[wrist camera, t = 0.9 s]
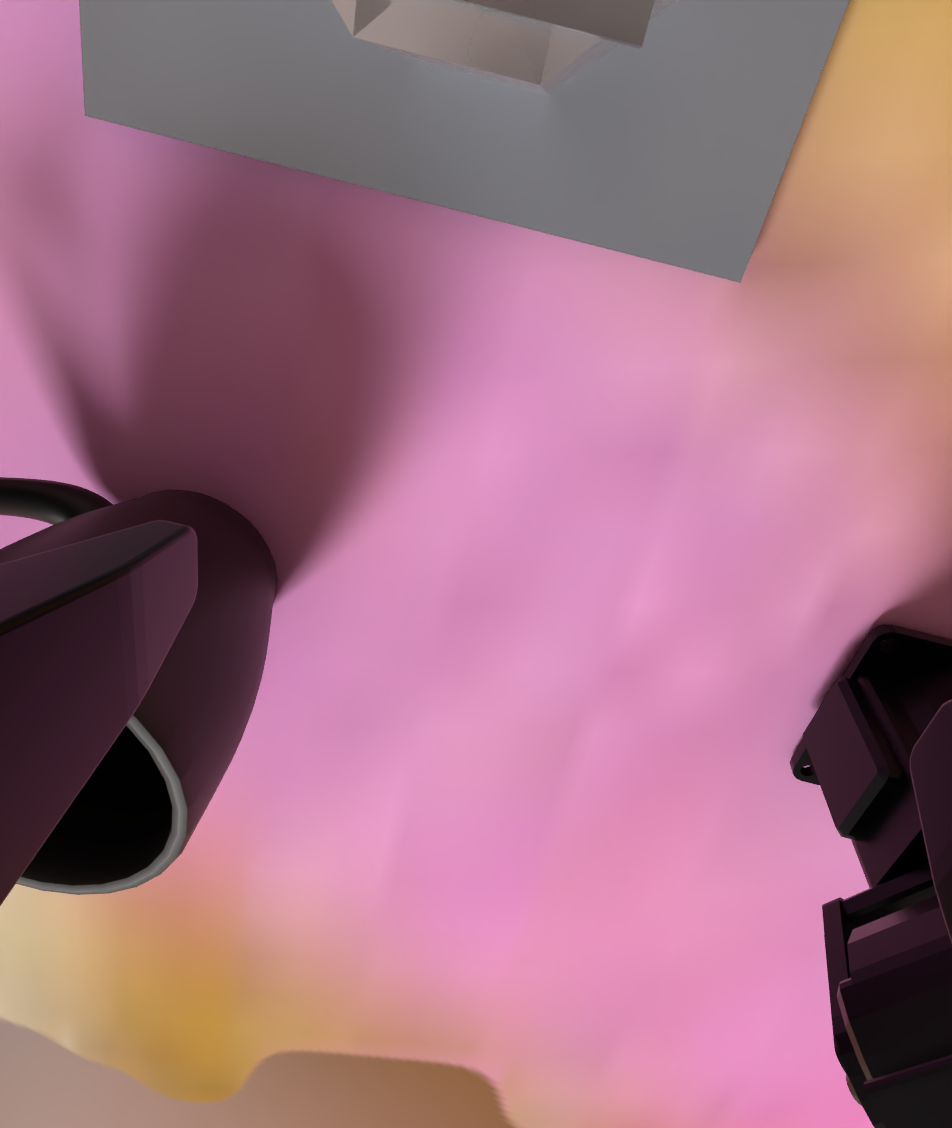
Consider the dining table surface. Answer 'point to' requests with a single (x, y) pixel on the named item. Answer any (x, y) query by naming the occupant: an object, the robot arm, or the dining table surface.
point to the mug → (157, 689)
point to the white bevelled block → (503, 34)
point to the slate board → (489, 115)
